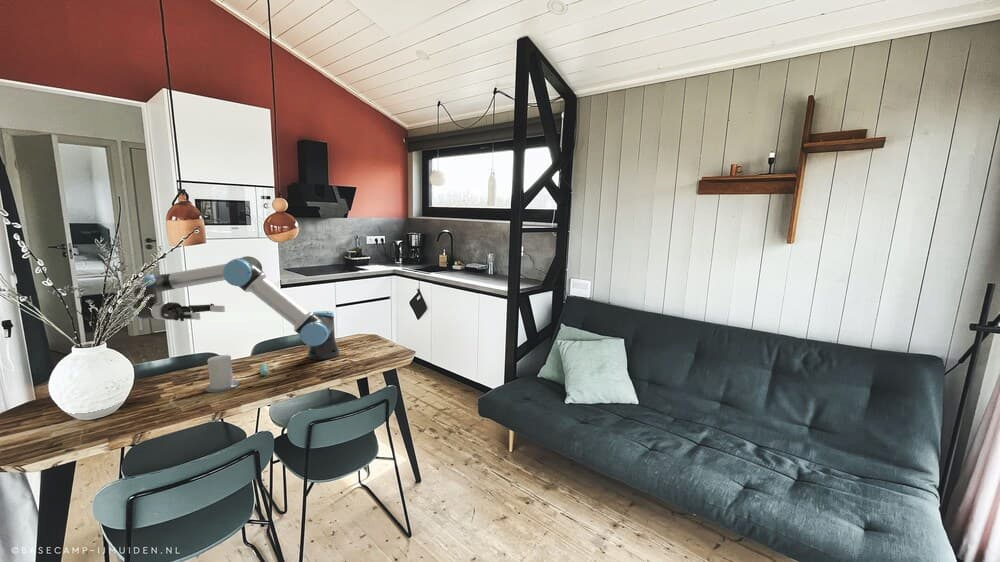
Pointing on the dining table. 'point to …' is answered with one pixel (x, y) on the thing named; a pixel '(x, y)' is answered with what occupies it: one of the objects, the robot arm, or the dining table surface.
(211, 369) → the cup
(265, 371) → the marble
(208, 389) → the metal disc
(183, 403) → the dining table surface
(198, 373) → the dining table surface
